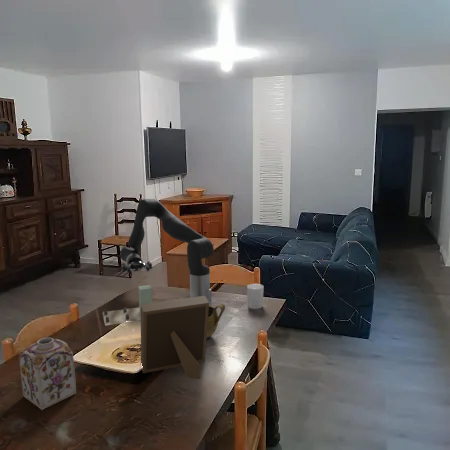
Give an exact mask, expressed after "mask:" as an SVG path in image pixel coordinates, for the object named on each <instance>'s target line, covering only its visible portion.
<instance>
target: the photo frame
mask: <svg viewBox="0 0 450 450" xmlns="http://www.w3.org/2000/svg"><path fill="white" fill-rule="evenodd" d="M176 299H177V298H176ZM208 311H209V302H208V300H207V298H206V297H205V296H199V297H192V298H190V297H185V298H178V299H177V300H175V299H171V300H165V301H157V302H156V301H155V302H152V303H147V304H141V321H140V364H141V363H142V366H143V369H142V368H141V371H142V374H146V373H147V374H149V373H153V372H156V371H162V370H167V369H173V368H174V369H175V368H179V367H182V369H183V372H184V374H185V377H186V379H197V380H198V379H199V380H200V378H201V365H200V363H203V362H206V361H205V359H206V348H207V339H206V336H207V323H208Z"/></svg>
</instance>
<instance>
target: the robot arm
mask: <svg viewBox="0 0 450 450" xmlns="http://www.w3.org/2000/svg"><path fill="white" fill-rule="evenodd" d="M151 217H154V218H156V219H158V220H159V221H161V227H162V229H163V231H164V232H165V233H166V234H167V235H169V236H170V237H171V238H172V239H175V240H177V241H179V242H184V243H187V246H186V253H187V254H186V256H187V267H188V270H189V293H190V294H189V295H190V297H189V298H192V297H199V296H205V297H206V298H207V300H208V302H209V306H212V304H213V303H212V302H213V301H212V289H211V282H210V281H211V276H210V275H211V274H210V270H211V269H210V267H209V266H208V265H206V264H203V262H202V259H203V260H204V259H207V258H210V257H211V256H212V255H213V254H214V251H215V248H214V245H213V242H211V240H210V239H208V238H207V237H206V236H204V235H203V234H200V233H199V232H197V231H196V230H194V229H193V228H192V227H190V226H189V225H187V224H186V223H185V222H183V220H182V219H180V218H179V217H177V216H176V215H174V214H173V213H172V212H171V211H169V210H168V209H167V208H166V206H164V205H163V204H162V202H160V201H159V200H158V199H155V198H142V199H140V200H139V202H138V205H137V207H136V212H135V217H134V223H133V226H132V230H131V233H130V237H129V238H128V241H127V244H128V246H129V247H128V246H127V247H125V246H124V247H123V248H121V250H120V253H119V257H120V259H121V260H122V261H124V262H125V263H122V264H121V265H122V266H121V270H122V272H123V273H125V272H127V273H128V274H131V273H132V272H139V271H141V270H143V271H145V270H146V272H150V270H152V269H153V263H151V261H150V260H148V261H146V262H144V261H143V259H142V258H141V256H140V255H141V253H140V252H141V245H142V243H143V241H144V239H145V236H146V235H145V234H146V233H145V228H144V221H145V219H146V218H151ZM212 307H213V306H212Z"/></svg>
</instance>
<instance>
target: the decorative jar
mask: <svg viewBox="0 0 450 450" xmlns="http://www.w3.org/2000/svg"><path fill="white" fill-rule="evenodd" d="M19 370H20V379H21V381H20V382H21V387H22V388H21V389H22V395H23V397H24V398H25V399H26V400H28V401H29V402H30V403H32V404H33V405H34V406H36V407H38V408H39V410H41V411H43V410H45V409H47V408H49V407H51V406H53V405H55V404H58V403H60V402H61V401H63V400H66V399H67V398H69V397H70V398H71V397H72V396H73V395H74V396H75V394H77V385H76V384H77V383H76V371H75V370H76V369H75V362H74V352H73V351H72V348H70V347H69V345H68V343H67V342H65V341H63V340H61V339H58V338H57V339H54V338H53V337H43V338H40V339H38V340H37V342H35V343H32V344H30V345H29V346H28V347H27V348H26V349H24V351H23V352H22V353H21V354H20V356H19Z"/></svg>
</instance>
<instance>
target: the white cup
mask: <svg viewBox="0 0 450 450" xmlns="http://www.w3.org/2000/svg"><path fill="white" fill-rule="evenodd" d="M264 289H265V288H264V285H263V284H259V283H251V284H248V285H246V295H247V296H246V297H247V299H246V300H247V307H248V308H249V309H253V310H258V309H262V308H263V301H264Z"/></svg>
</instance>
